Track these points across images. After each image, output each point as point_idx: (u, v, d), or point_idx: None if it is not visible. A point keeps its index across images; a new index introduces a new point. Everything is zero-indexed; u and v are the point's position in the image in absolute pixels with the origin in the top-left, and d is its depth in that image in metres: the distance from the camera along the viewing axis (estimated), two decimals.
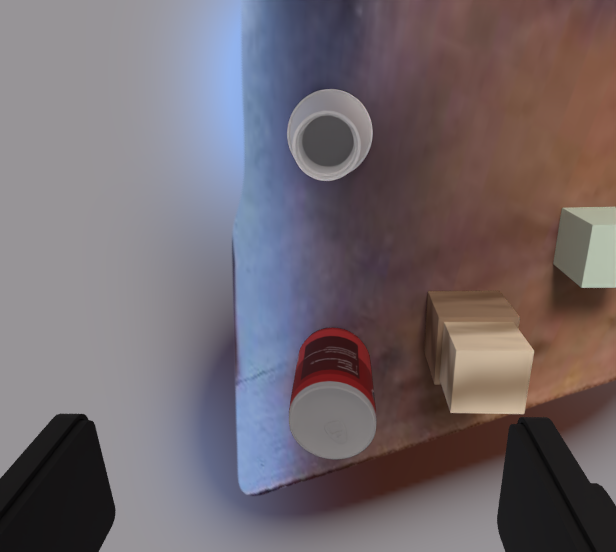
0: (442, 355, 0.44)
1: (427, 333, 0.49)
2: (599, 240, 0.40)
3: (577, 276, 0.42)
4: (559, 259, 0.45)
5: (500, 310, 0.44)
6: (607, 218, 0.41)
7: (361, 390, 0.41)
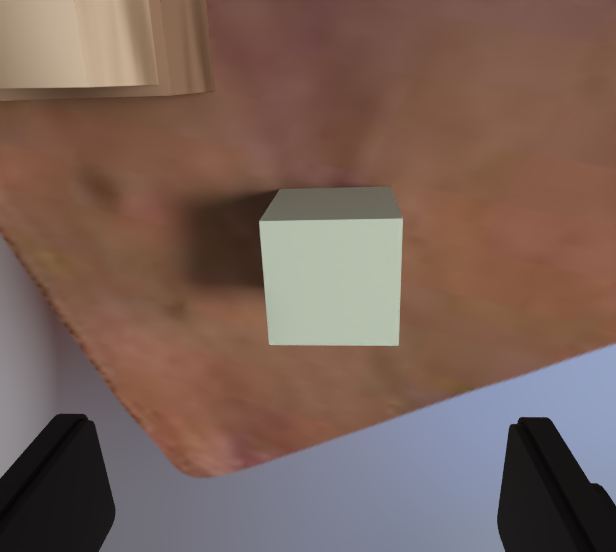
0: None
1: None
2: (367, 237, 0.19)
3: (279, 214, 0.20)
4: (294, 193, 0.23)
5: (180, 58, 0.18)
6: None
7: None
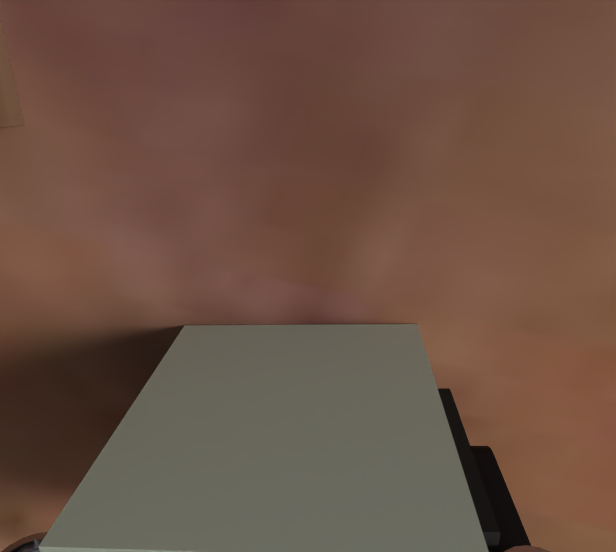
0: None
1: None
2: None
3: (122, 486, 0.07)
4: (206, 350, 0.10)
5: None
6: None
7: None
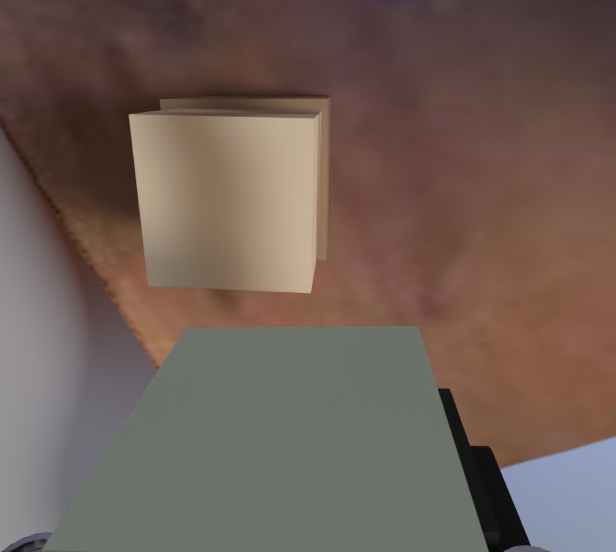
0: (242, 110, 0.20)
1: (247, 96, 0.24)
2: None
3: (124, 490, 0.07)
4: (207, 353, 0.10)
5: None
6: None
7: None
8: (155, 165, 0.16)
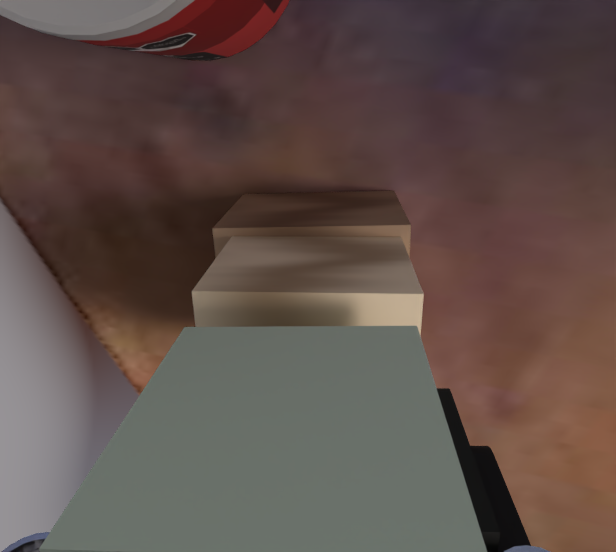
0: (309, 240, 0.17)
1: (301, 197, 0.22)
2: None
3: (122, 489, 0.07)
4: (206, 352, 0.10)
5: None
6: None
7: None
8: None
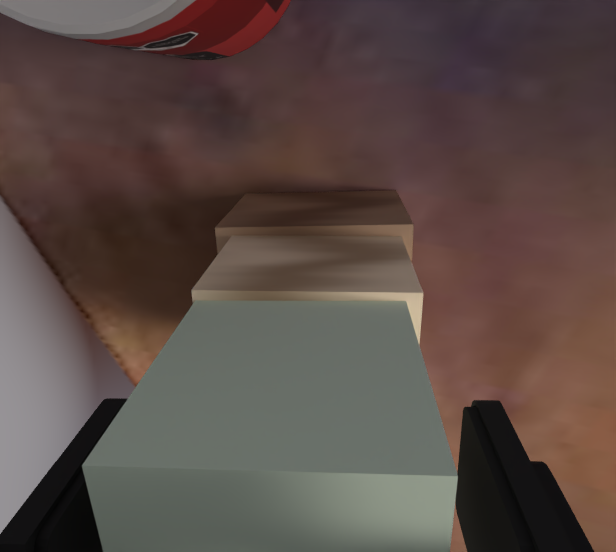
0: (309, 239, 0.17)
1: (303, 197, 0.22)
2: (364, 511, 0.07)
3: (148, 423, 0.08)
4: (216, 321, 0.12)
5: None
6: None
7: None
8: None
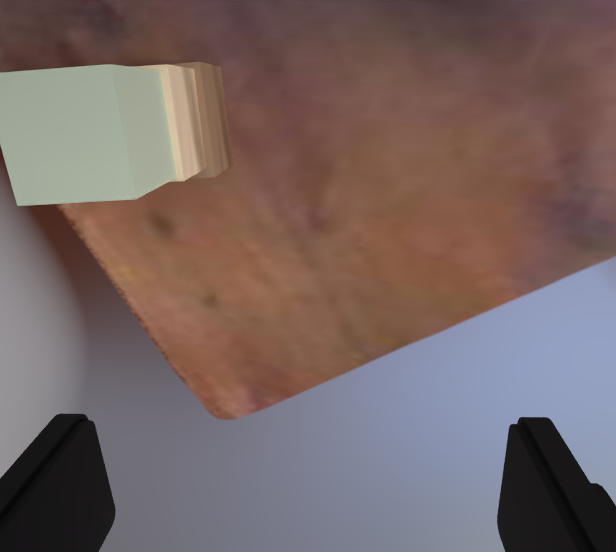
0: None
1: None
2: (82, 85, 0.20)
3: None
4: None
5: (218, 154, 0.33)
6: (137, 116, 0.22)
7: None
8: None
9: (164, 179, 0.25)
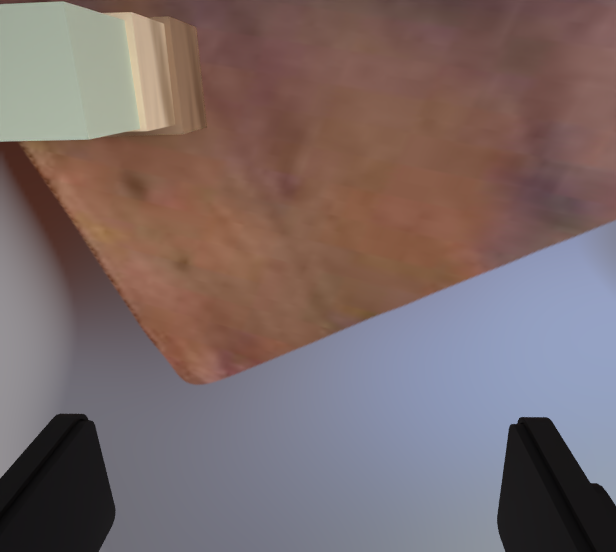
0: None
1: None
2: (36, 22, 0.20)
3: None
4: None
5: (188, 113, 0.33)
6: (95, 59, 0.22)
7: None
8: None
9: (124, 127, 0.26)
